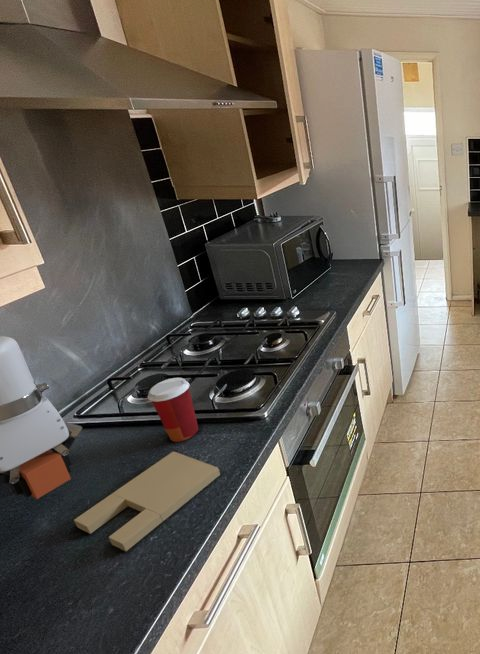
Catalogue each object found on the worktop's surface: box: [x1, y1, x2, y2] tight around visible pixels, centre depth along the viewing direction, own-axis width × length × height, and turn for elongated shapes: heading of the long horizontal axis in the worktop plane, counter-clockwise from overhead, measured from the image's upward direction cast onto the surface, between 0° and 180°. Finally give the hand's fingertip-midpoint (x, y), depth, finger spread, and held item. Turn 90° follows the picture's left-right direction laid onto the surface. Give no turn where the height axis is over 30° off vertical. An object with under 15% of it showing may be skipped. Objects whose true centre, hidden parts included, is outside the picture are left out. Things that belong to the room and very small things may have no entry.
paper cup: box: [147, 377, 199, 443], centre depth 99 cm, size 8×8×14 cm
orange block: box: [20, 449, 72, 500], centre depth 79 cm, size 5×5×6 cm
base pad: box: [73, 451, 221, 552], centre depth 84 cm, size 18×14×2 cm
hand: (45, 481), depth 80 cm, fingers closed on orange block, 5 cm apart
